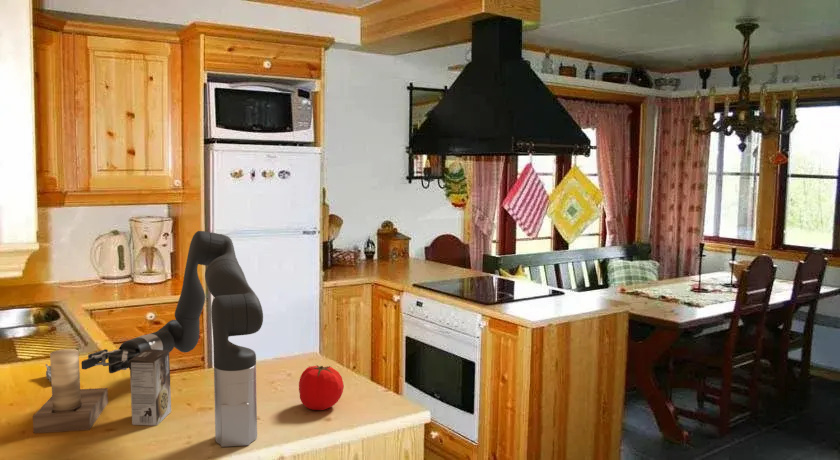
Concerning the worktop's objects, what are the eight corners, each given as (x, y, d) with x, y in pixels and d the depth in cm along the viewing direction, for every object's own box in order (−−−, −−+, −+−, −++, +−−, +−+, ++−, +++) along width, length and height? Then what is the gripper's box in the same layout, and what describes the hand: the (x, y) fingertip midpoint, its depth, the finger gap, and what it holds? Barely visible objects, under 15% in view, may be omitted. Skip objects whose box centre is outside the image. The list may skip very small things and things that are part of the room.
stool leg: (77, 426, 165) (74, 355, 163) (49, 427, 164) (46, 356, 162) (85, 416, 171) (82, 348, 169) (58, 417, 169) (54, 349, 168)
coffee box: (146, 411, 176) (144, 348, 174) (172, 412, 176) (170, 349, 174) (130, 425, 167) (128, 359, 165) (157, 426, 167) (155, 359, 165)
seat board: (89, 429, 164) (88, 413, 163) (33, 433, 161) (32, 416, 161) (108, 402, 181) (107, 387, 181) (57, 405, 179) (57, 390, 179)
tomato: (288, 407, 180) (288, 365, 178) (322, 396, 188) (322, 355, 187) (319, 419, 172) (318, 375, 171) (353, 406, 180) (353, 364, 179)
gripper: (119, 334, 192) (72, 350, 177) (162, 339, 188) (118, 355, 172) (120, 361, 193) (74, 378, 178) (163, 366, 188) (119, 385, 173)
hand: (96, 367), depth 175 cm, fingers open, 8 cm apart
